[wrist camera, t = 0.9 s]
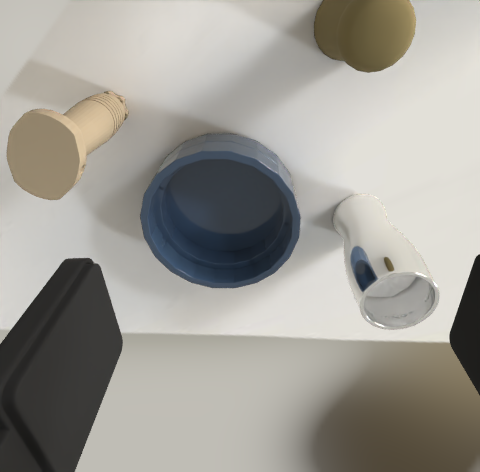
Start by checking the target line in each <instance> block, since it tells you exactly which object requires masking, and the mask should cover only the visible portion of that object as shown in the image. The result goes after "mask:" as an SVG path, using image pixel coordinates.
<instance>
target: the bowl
mask: <svg viewBox="0 0 480 472" xmlns="http://www.w3.org/2000/svg"><path fill="white" fill-rule="evenodd" d="M140 218H141V224H142V229H143V234H144V238H145V240H146V242H147V243H148V245H149V247H150V249H151V250H152V252H153V254H154V256H155V257H156V258H157V259H158V260H159V261H160V262H161V263H162V264H163V265H164V266H165V267H166V268H167V269H169V270H170V271H171V272H172V273H174V274H176V275H178V276H180V277H182V278H184V279H185V280H187V281H189V282H191V283H195V284H199V285H203V286H207V287H211V288H238V287H242V286H246V285H250V284H254V283H257V282H259V281H261V280H263V279H265V278H266V277H268V276H270V275H272V274H274V273H275V272H276V271H277V270H278V269H279V268H280V267H281V266H282V265H283V264H284V263H285V262H286V261H287V260H288V259H289V257H290V256H291V254H292V252H293V249H294V247H295V245H296V243H297V241H298V238H299V230H300V212H299V207H298V202H297V197H296V192H295V189H294V185H293V182H292V178H291V175H290V173H289V171H288V170H287V169H286V167H285V166H284V164H283V163H282V162H281V160H280V159H279V158H278V156H277V155H276V154H275V153H273V152H272V151H270V150H269V149H268V148H266V147H265V146H263V145H262V144H260V143H259V142H258V141H255V140H252V139H249V138H246V137H242V136H239V135H236V134H206V135H203V136H200V137H197V138H194V139H191V140H188V141H185V142H184V143H183V144H181V145H180V146H179V147H178V148H176V149H175V150H174V151H173V152H171V153H170V154H169V155H168V156H167V157H166V158H165V160H164V162H163V163H162V165H161V167H160V168H159V170H158V172H157V173H156V175H155V177H154V178H153V180H152V182H151V183H150V185H149V187H148V188H147V190H146V192H145V194H144V197H143V203H142V208H141V214H140Z"/></svg>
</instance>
